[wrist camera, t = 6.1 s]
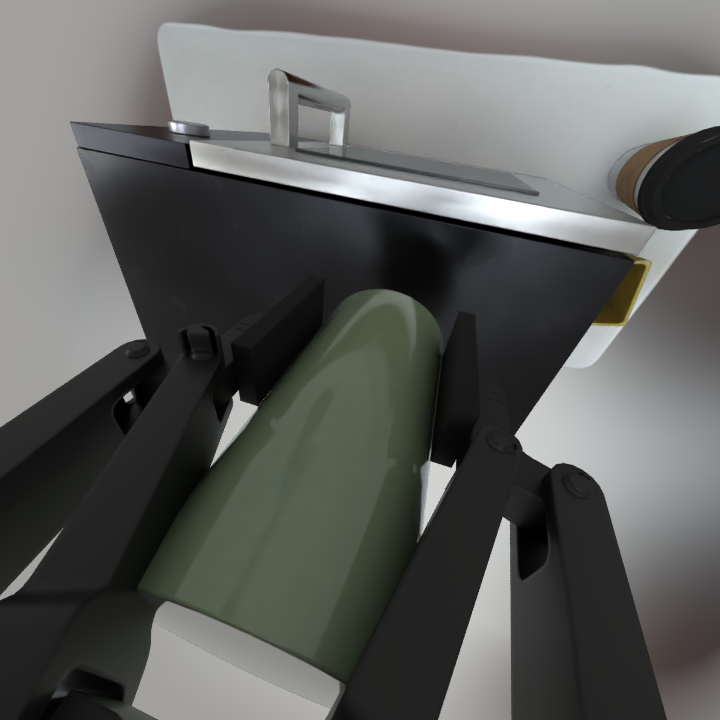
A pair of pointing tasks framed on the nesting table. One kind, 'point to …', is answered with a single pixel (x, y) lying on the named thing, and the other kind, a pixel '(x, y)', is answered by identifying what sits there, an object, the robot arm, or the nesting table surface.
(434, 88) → the nesting table surface
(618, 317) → the flower pot
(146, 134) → the microwave
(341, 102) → the microwave door
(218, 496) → the canister
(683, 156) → the coffee cup
